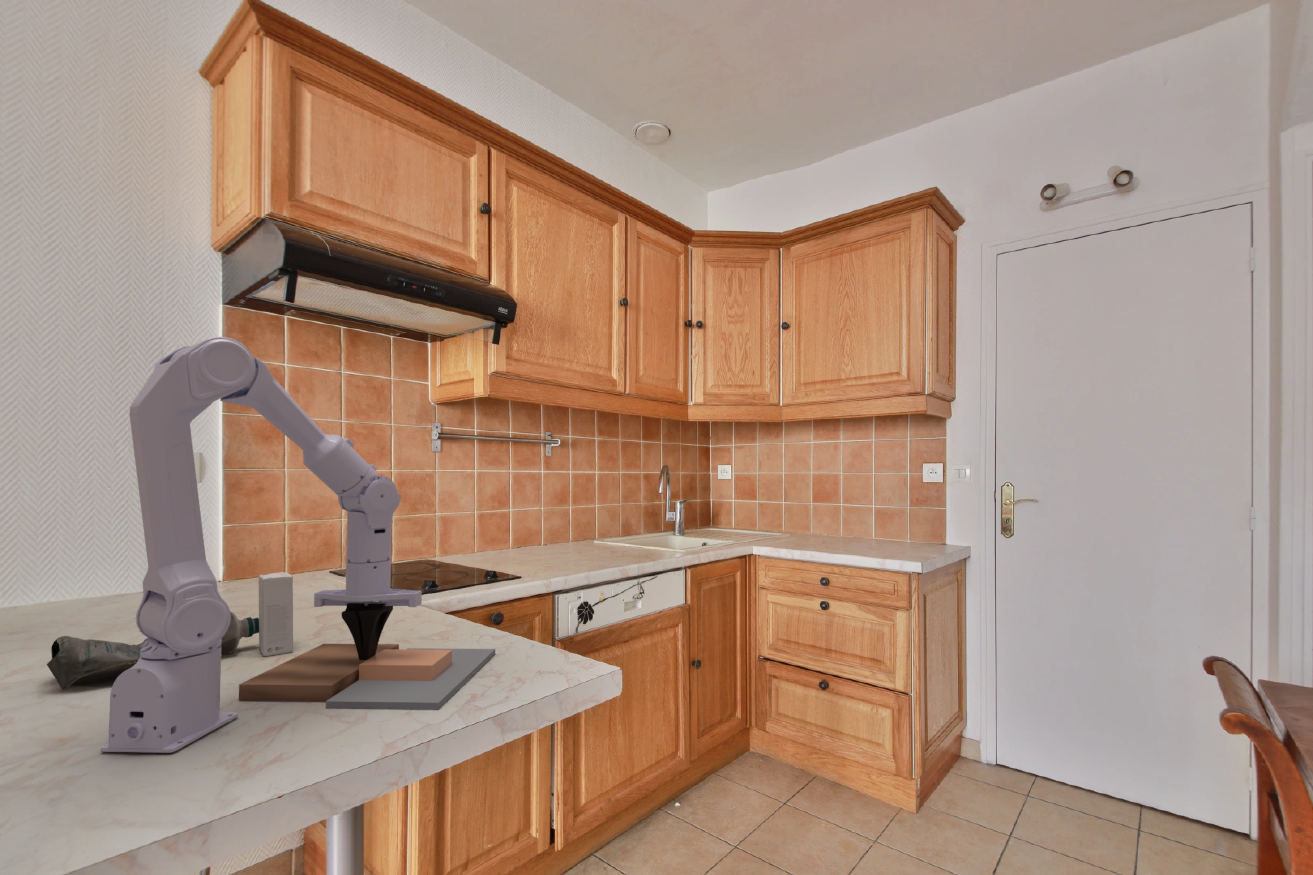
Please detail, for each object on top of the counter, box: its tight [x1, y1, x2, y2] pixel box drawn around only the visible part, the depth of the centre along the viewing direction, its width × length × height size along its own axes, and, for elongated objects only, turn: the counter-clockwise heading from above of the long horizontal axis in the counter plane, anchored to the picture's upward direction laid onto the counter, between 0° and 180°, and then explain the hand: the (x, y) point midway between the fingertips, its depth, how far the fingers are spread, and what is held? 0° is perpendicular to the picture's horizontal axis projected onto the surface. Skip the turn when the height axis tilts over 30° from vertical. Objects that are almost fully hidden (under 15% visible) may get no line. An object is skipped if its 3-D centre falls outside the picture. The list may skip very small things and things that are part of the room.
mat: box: [325, 647, 496, 710], centre depth 85 cm, size 22×14×1 cm, turn 177°
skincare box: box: [258, 571, 294, 657], centre depth 99 cm, size 6×4×12 cm
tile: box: [359, 649, 452, 681], centre depth 85 cm, size 7×10×2 cm
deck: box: [238, 643, 400, 703], centre depth 86 cm, size 18×12×2 cm, turn 177°
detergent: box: [46, 610, 259, 690], centre depth 91 cm, size 13×7×25 cm
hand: (367, 658), depth 85 cm, fingers closed
